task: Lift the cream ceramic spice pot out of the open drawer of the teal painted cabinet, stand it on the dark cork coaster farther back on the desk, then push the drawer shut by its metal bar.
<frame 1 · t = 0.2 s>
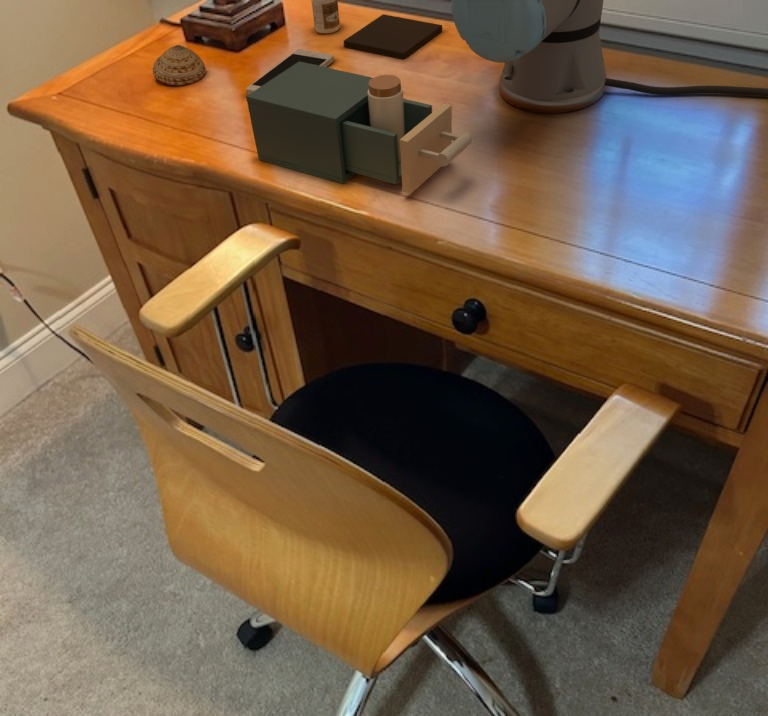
seashell: (180, 76, 130), on the table
spice pot: (389, 155, 104), point 2 cm above the table, touching drawer
cabinet: (324, 152, 110), on the table
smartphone: (291, 78, 126), on the table
pill bottle: (327, 30, 137), on the table
drawer: (400, 141, 102), point 4 cm above the table, slide at 9.0 cm, touching spice pot
coaster: (393, 39, 133), on the table
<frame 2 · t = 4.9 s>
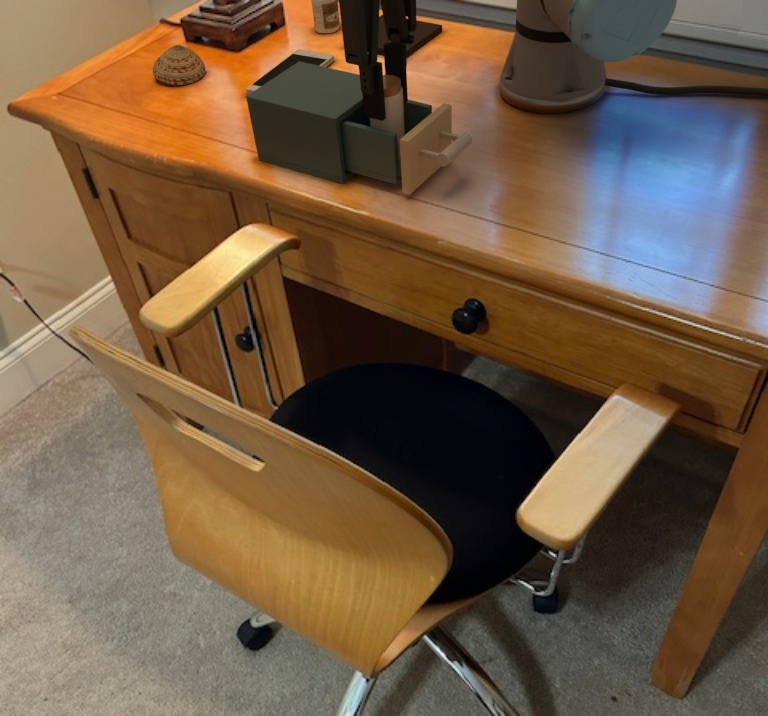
hand: (386, 108, 100), 8 cm above the table, tool pointing down, fingers closed on spice pot, 4 cm apart
spice pot: (389, 155, 104), point 2 cm above the table, touching drawer, gripper
everything else where it was.
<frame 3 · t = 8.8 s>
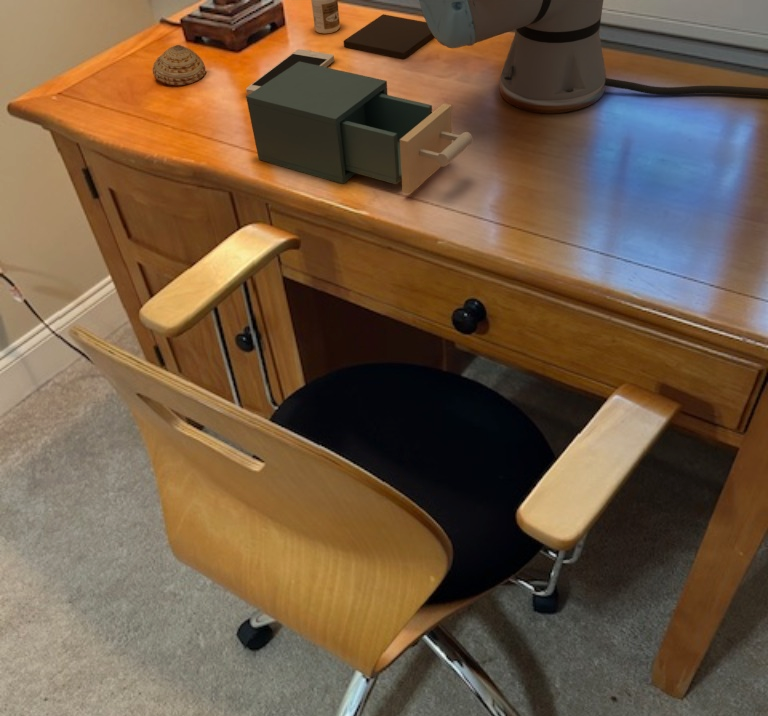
drawer: (400, 141, 102), point 4 cm above the table, slide at 9.0 cm
when the fingers open (7 cm above the table, at t = 13.0 s): spice pot stays where it is, resting on coaster.
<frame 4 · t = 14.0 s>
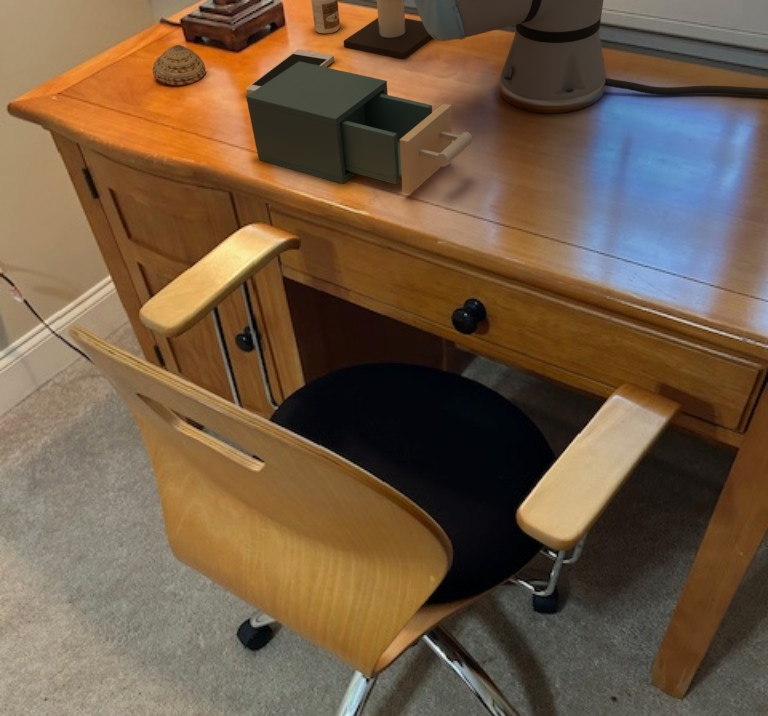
spice pot: (392, 32, 132), point 1 cm above the table, touching coaster
everything else where it was.
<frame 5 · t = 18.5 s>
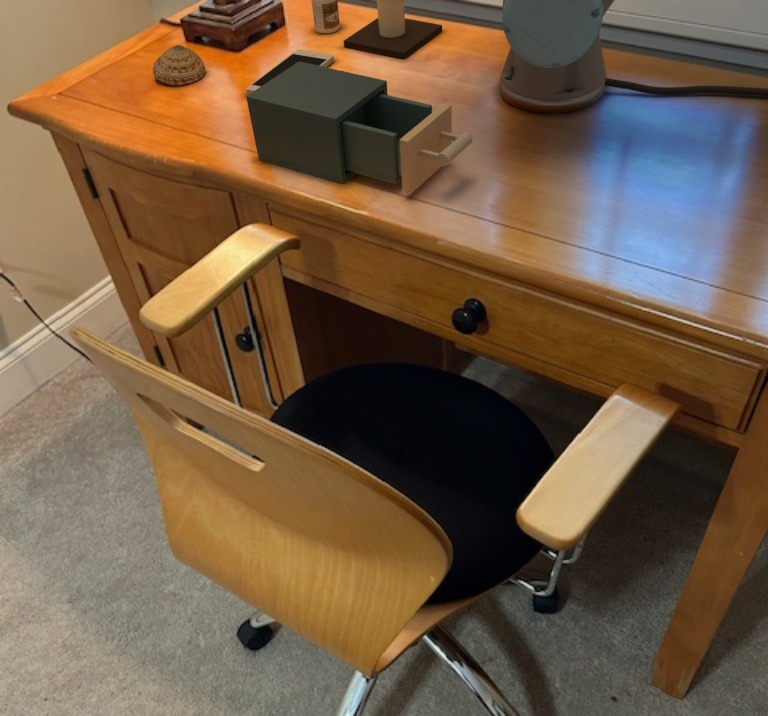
nothing on the table moved.
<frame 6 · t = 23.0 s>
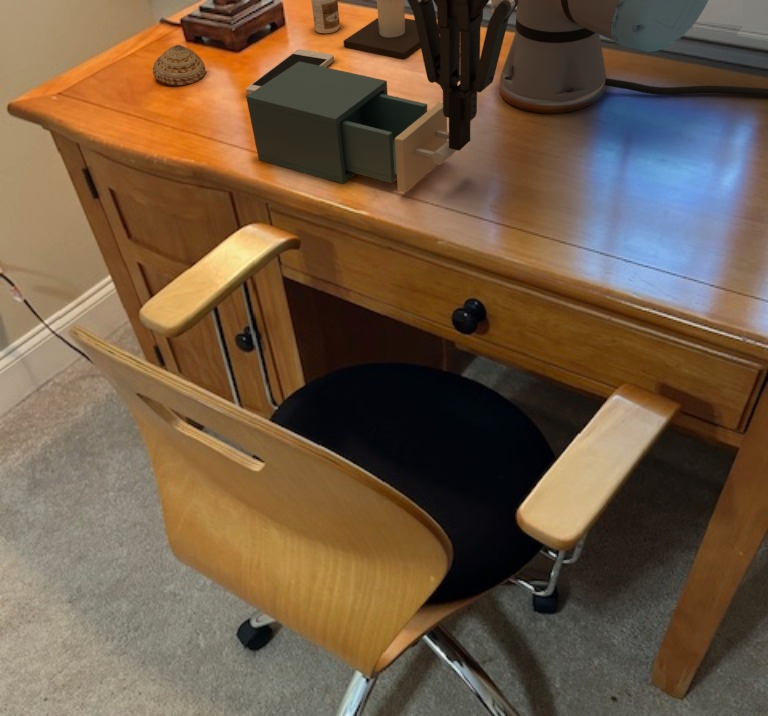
hand: (459, 144, 97), 6 cm above the table, tool pointing down, fingers closed
drawer: (395, 140, 102), point 4 cm above the table, slide at 8.3 cm, touching gripper
everything else where it was.
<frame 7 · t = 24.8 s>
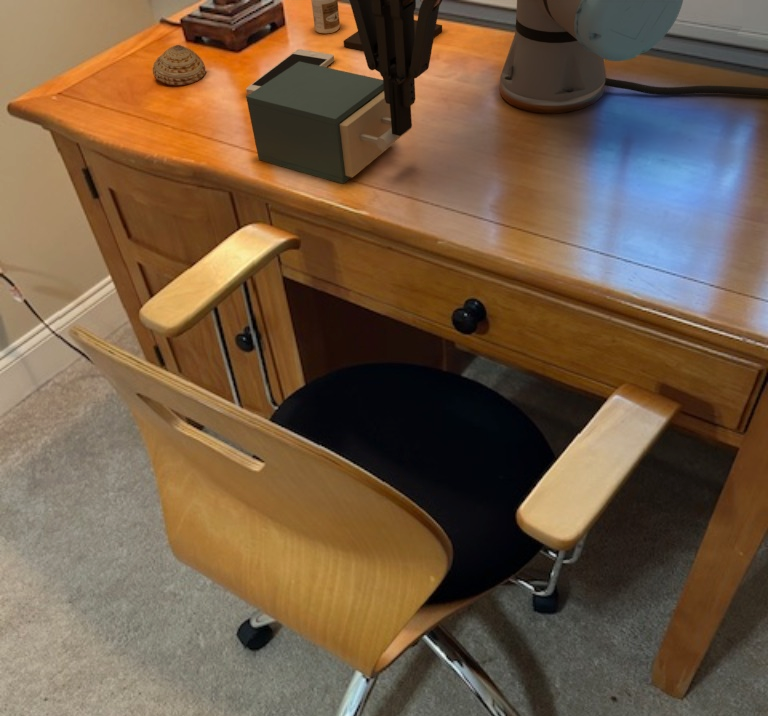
hand: (401, 130, 101), 6 cm above the table, tool pointing down, fingers closed
drawer: (344, 127, 105), point 4 cm above the table, slide at 0.0 cm, touching cabinet, gripper
everything else where it was.
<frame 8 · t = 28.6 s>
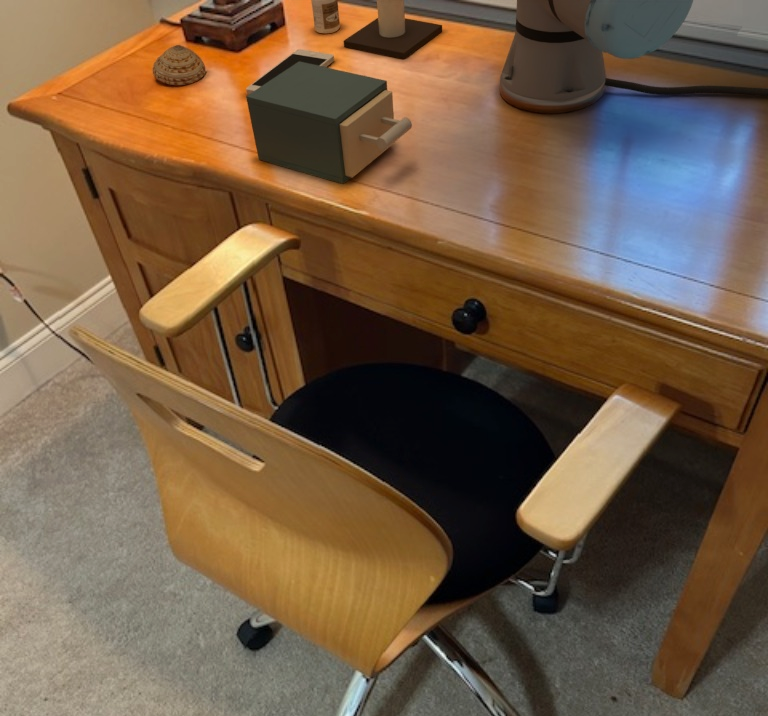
drawer: (344, 127, 105), point 4 cm above the table, slide at 0.0 cm
everything else where it was.
at the end: spice pot inside the target area on the coaster (0.2 cm from its centre), point 1.0 cm above the coaster's base; spice pot tilted 0°; drawer slide at 0.0 cm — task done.
